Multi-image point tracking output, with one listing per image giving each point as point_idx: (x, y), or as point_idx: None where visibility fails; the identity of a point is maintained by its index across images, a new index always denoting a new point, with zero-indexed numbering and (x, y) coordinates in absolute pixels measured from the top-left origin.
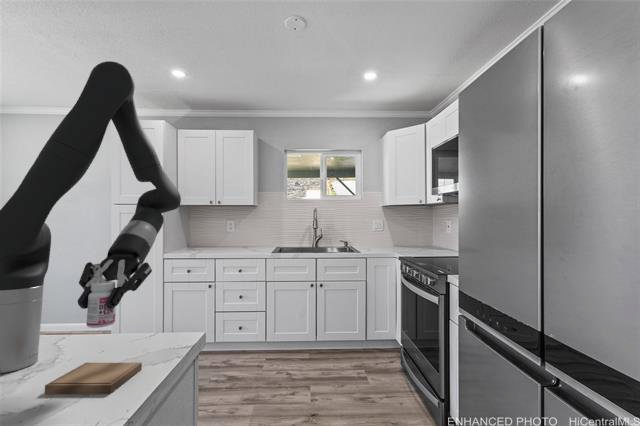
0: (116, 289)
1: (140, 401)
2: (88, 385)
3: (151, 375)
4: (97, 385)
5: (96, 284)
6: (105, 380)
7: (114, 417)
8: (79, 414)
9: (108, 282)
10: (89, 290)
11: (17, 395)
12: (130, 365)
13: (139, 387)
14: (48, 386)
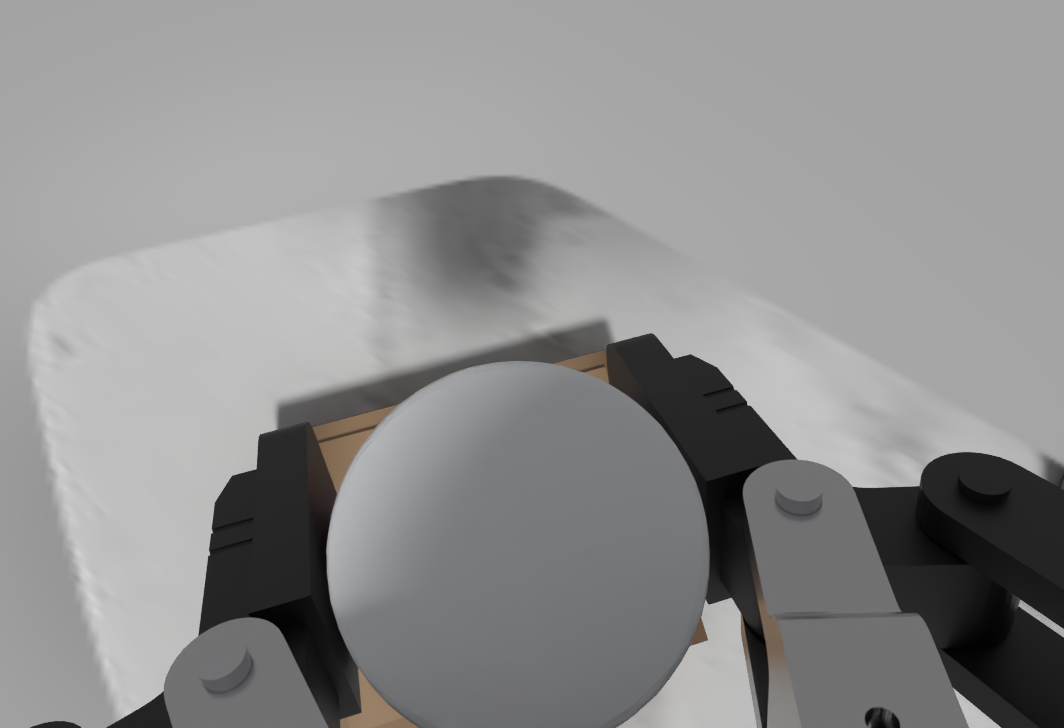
0: (251, 581)
1: (57, 425)
2: (392, 407)
3: None
4: (343, 419)
5: (482, 370)
6: (338, 465)
7: (79, 285)
8: (261, 266)
9: (471, 615)
10: (684, 450)
11: (716, 315)
12: (366, 685)
13: (175, 545)
14: (597, 352)
